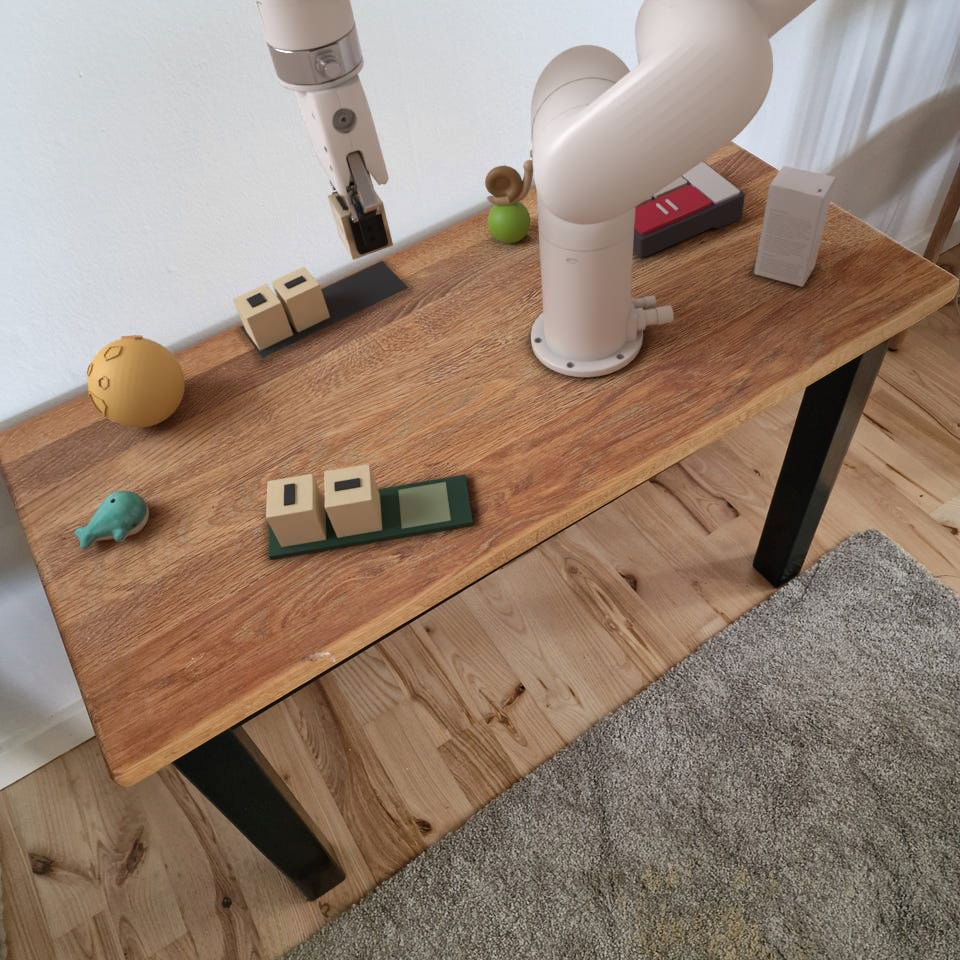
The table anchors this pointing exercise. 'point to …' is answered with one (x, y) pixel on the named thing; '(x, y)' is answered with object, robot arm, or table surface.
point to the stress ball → (135, 382)
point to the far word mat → (349, 299)
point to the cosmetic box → (793, 225)
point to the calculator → (686, 209)
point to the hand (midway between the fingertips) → (364, 234)
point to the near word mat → (359, 510)
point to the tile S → (343, 225)
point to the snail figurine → (509, 202)
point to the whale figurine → (115, 519)
